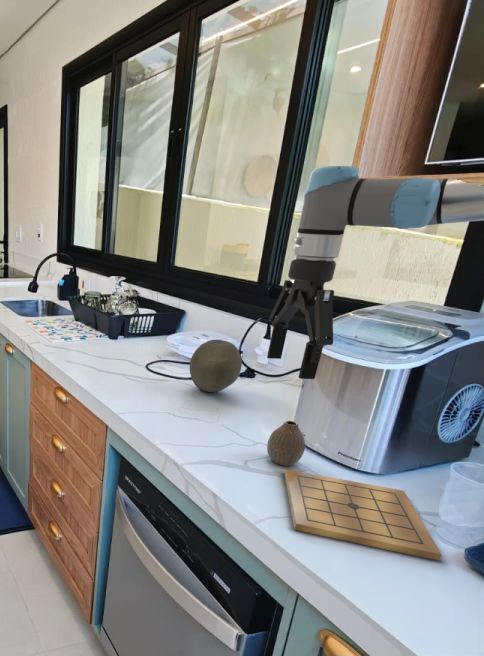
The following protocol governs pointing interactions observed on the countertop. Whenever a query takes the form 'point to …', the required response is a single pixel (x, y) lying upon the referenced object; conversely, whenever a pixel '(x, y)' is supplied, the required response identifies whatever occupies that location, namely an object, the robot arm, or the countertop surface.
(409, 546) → the board
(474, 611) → the countertop surface
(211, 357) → the cantaloupe
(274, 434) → the vase
